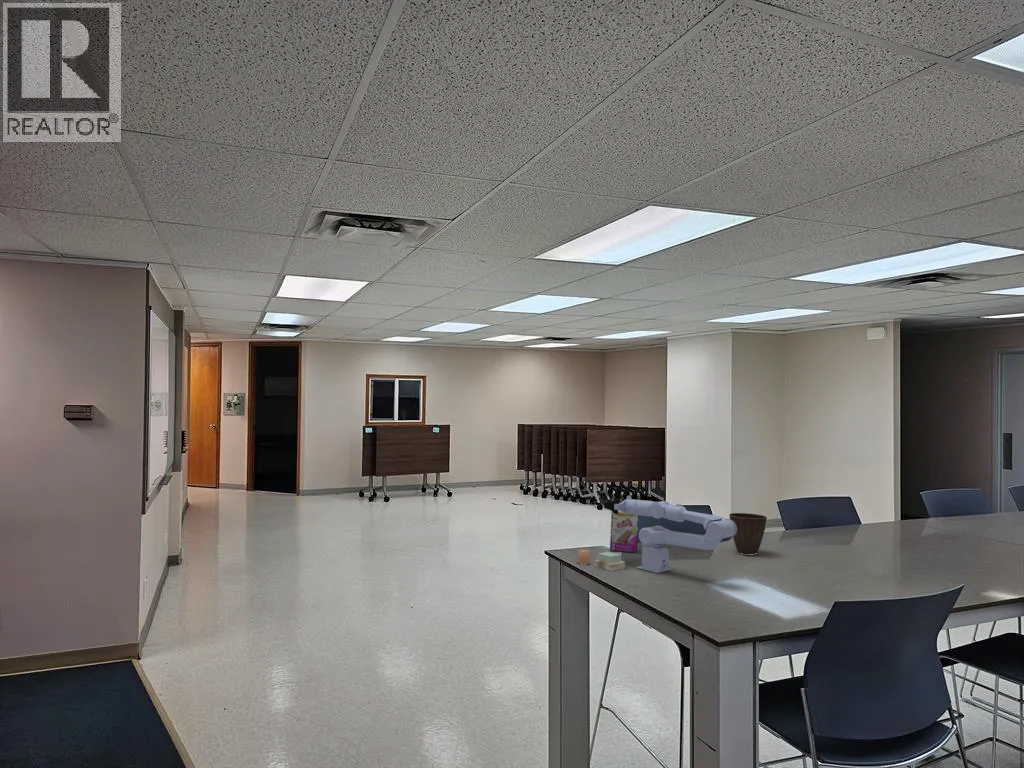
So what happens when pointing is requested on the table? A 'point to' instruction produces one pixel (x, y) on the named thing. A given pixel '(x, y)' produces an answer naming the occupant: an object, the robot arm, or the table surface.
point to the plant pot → (748, 531)
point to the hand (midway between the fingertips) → (610, 504)
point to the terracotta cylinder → (584, 556)
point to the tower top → (609, 557)
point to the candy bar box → (624, 532)
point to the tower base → (610, 565)
